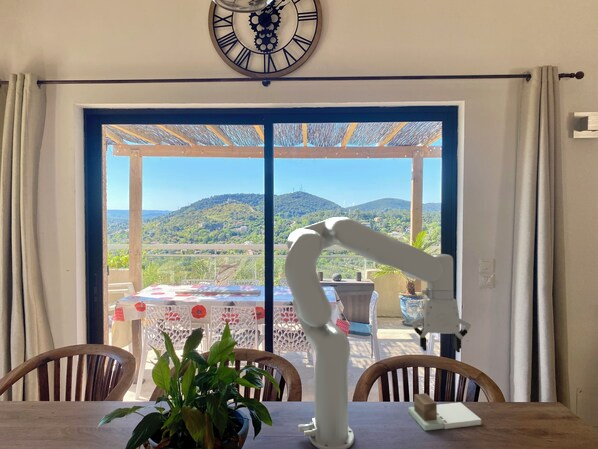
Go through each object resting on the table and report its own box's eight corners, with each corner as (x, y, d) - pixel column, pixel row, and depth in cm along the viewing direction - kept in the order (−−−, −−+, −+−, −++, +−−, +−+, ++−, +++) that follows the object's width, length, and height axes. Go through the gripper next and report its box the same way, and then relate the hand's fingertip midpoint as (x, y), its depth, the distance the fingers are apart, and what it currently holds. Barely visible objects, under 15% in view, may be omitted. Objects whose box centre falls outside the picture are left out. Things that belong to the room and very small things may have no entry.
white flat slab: (444, 428, 100) (444, 423, 100) (426, 410, 110) (426, 405, 110) (481, 424, 102) (481, 419, 102) (460, 406, 112) (460, 401, 112)
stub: (424, 430, 99) (424, 408, 99) (408, 411, 109) (408, 391, 109) (443, 428, 100) (443, 406, 100) (425, 410, 110) (425, 389, 110)
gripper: (413, 296, 102) (413, 353, 102) (474, 297, 99) (474, 356, 100) (408, 291, 109) (409, 344, 109) (465, 292, 107) (465, 346, 107)
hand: (440, 350), depth 104 cm, fingers open, 9 cm apart
